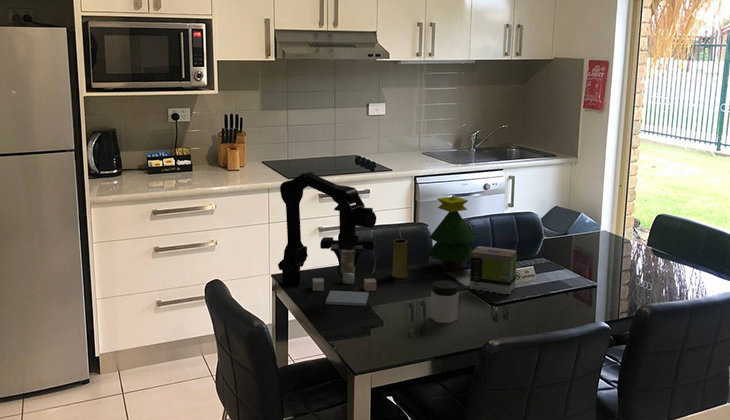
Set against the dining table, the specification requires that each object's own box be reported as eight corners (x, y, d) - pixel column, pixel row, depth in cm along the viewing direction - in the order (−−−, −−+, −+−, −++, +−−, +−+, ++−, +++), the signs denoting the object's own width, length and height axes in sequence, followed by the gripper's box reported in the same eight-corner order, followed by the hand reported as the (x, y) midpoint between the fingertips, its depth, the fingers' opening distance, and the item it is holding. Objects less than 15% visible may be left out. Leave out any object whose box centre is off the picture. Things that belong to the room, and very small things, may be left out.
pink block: (365, 291, 270) (365, 282, 270) (363, 287, 274) (363, 278, 273) (376, 291, 271) (376, 282, 270) (374, 287, 275) (374, 278, 274)
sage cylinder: (342, 283, 278) (342, 274, 278) (343, 279, 283) (343, 271, 282) (353, 284, 278) (353, 275, 277) (354, 280, 282) (354, 271, 282)
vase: (406, 279, 284) (407, 243, 280) (390, 278, 285) (391, 242, 282) (408, 274, 290) (409, 239, 286) (393, 273, 291) (393, 238, 287)
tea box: (515, 287, 276) (517, 249, 272) (508, 296, 267) (511, 256, 263) (476, 281, 282) (478, 244, 278) (468, 289, 273) (470, 251, 269)
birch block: (340, 272, 258) (340, 253, 257) (342, 268, 263) (342, 249, 261) (353, 273, 258) (353, 253, 256) (355, 269, 262) (354, 250, 261)
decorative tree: (446, 279, 284) (448, 203, 277) (417, 265, 300) (419, 193, 293) (485, 271, 294) (488, 198, 287) (455, 259, 310) (458, 189, 303)
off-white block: (312, 291, 270) (312, 282, 270) (312, 287, 274) (312, 278, 274) (323, 290, 271) (323, 281, 270) (323, 287, 275) (323, 278, 274)
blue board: (325, 304, 257) (325, 301, 257) (330, 293, 268) (330, 290, 268) (365, 305, 256) (365, 303, 256) (368, 294, 266) (368, 292, 266)
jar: (441, 311, 251) (442, 278, 248) (461, 317, 246) (462, 283, 243) (425, 319, 244) (426, 285, 241) (446, 325, 239) (447, 290, 236)
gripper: (317, 229, 249) (318, 273, 253) (372, 230, 248) (372, 274, 251) (322, 221, 260) (323, 263, 264) (375, 222, 259) (375, 264, 262)
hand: (348, 266), depth 260 cm, fingers closed on birch block, 4 cm apart
